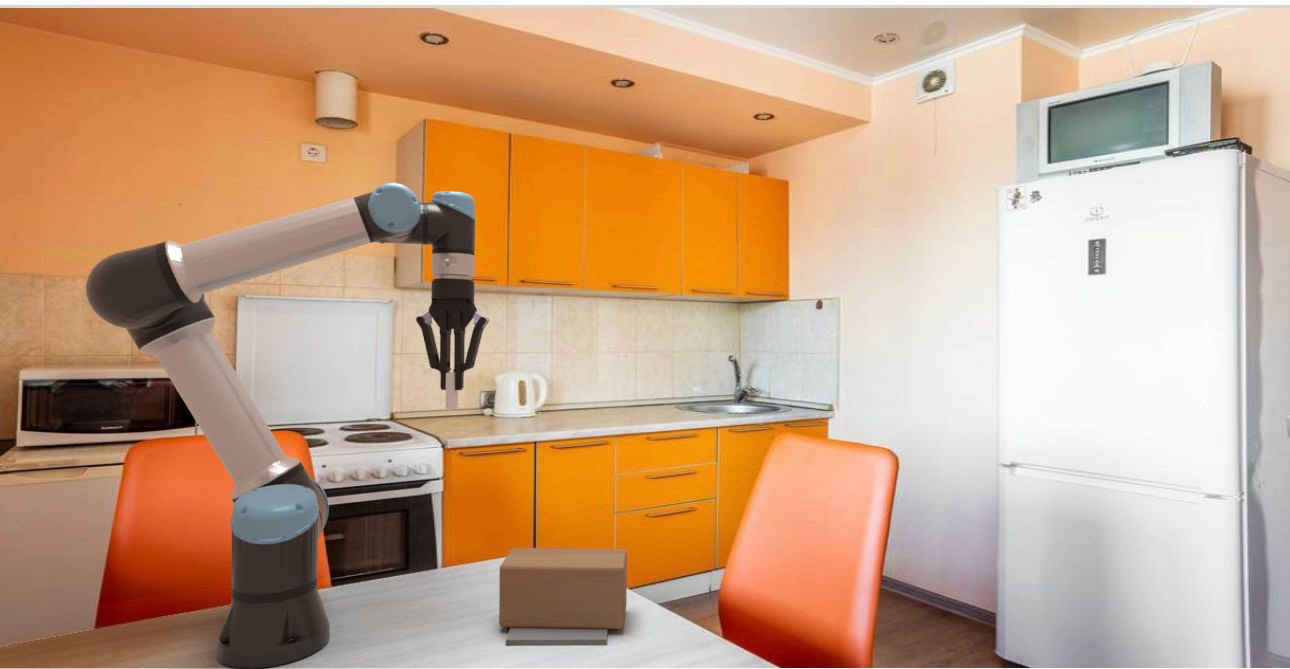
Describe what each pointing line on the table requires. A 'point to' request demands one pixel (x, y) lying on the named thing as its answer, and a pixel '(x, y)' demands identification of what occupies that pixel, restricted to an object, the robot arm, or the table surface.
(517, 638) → the mat
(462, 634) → the table surface
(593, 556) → the wooden block
